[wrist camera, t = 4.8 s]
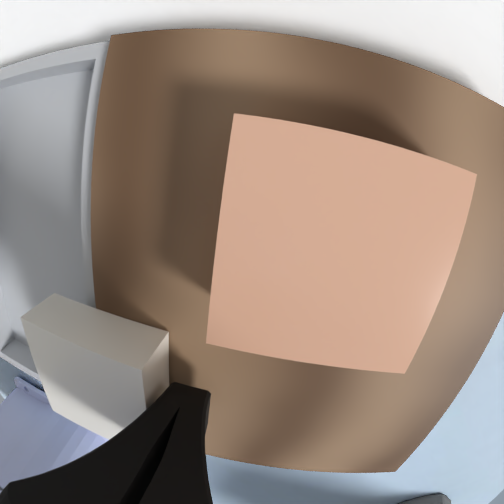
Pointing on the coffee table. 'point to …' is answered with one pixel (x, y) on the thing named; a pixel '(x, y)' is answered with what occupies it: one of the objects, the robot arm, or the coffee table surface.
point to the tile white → (96, 363)
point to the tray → (46, 186)
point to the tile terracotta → (331, 245)
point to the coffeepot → (429, 500)
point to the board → (207, 219)
